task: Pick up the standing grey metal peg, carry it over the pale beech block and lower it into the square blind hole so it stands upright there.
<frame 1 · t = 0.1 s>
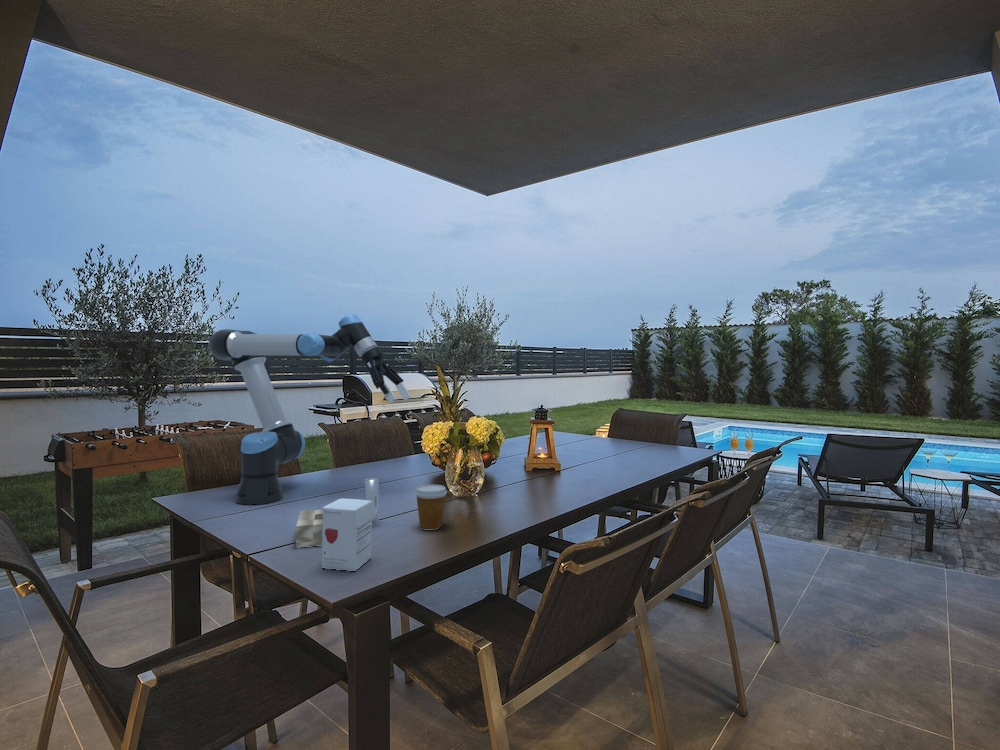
hand: (400, 399, 183), 36 cm above the table, tool tilted 35°, fingers open, 13 cm apart
disposable coffee cup: (430, 528, 152), on the table
supplement box: (347, 564, 125), on the table
bore block: (325, 537, 143), on the table
peg: (371, 524, 154), on the table
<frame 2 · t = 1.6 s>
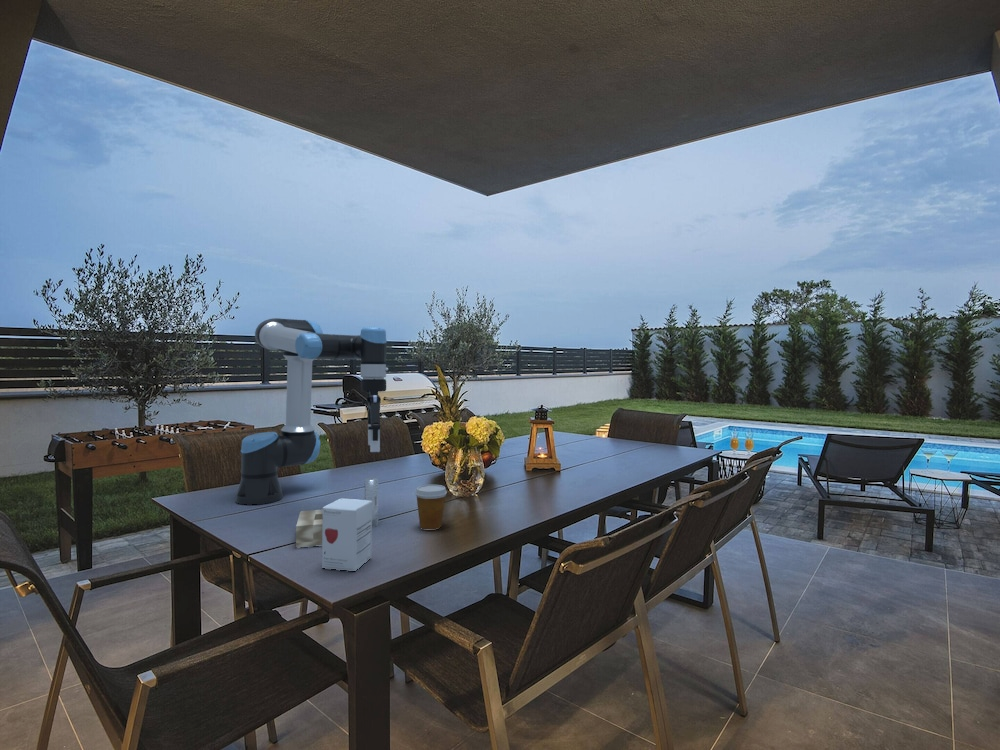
hand: (373, 448, 155), 23 cm above the table, tool pointing down, fingers open, 13 cm apart
nothing on the table moved.
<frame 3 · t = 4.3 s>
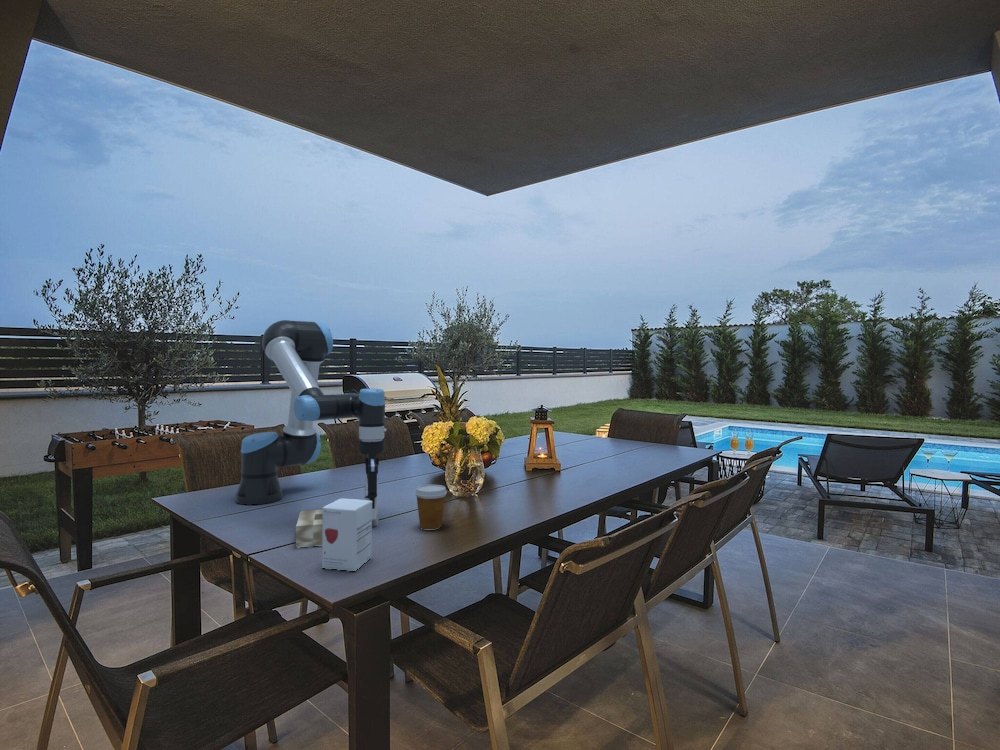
hand: (371, 516, 154), 3 cm above the table, tool pointing down, fingers closed on peg, 4 cm apart
peg: (371, 524, 154), on the table, touching gripper
everything else where it was.
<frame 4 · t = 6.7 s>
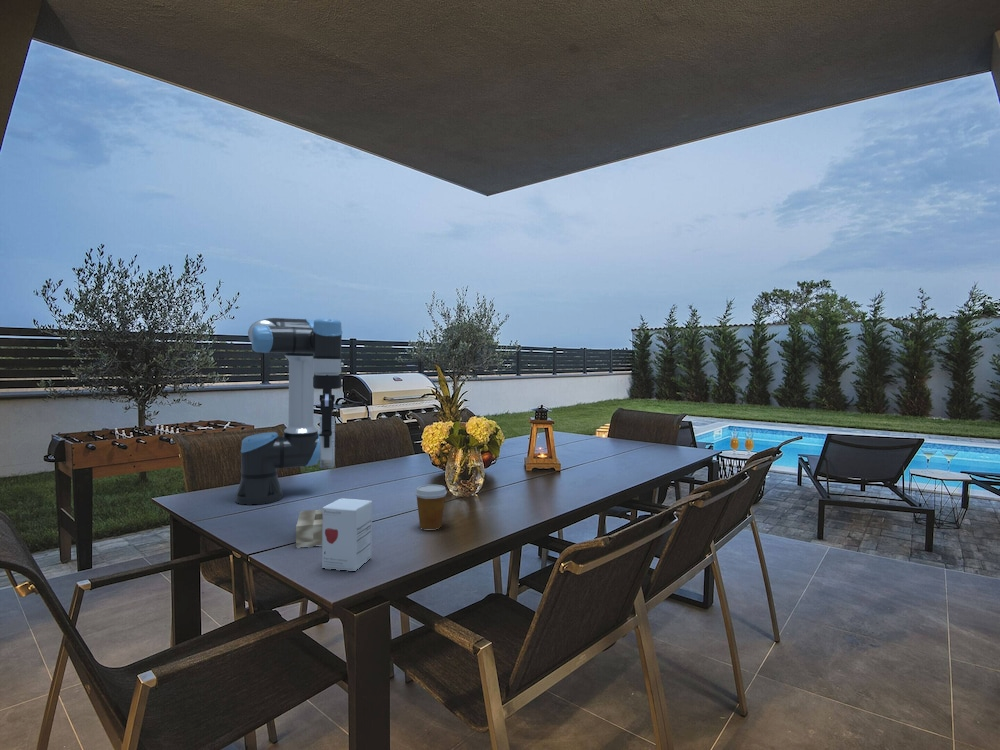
hand: (326, 457, 143), 23 cm above the table, tool pointing down, fingers closed on peg, 4 cm apart
peg: (327, 466, 143), point 20 cm above the table, touching gripper
everything else where it was.
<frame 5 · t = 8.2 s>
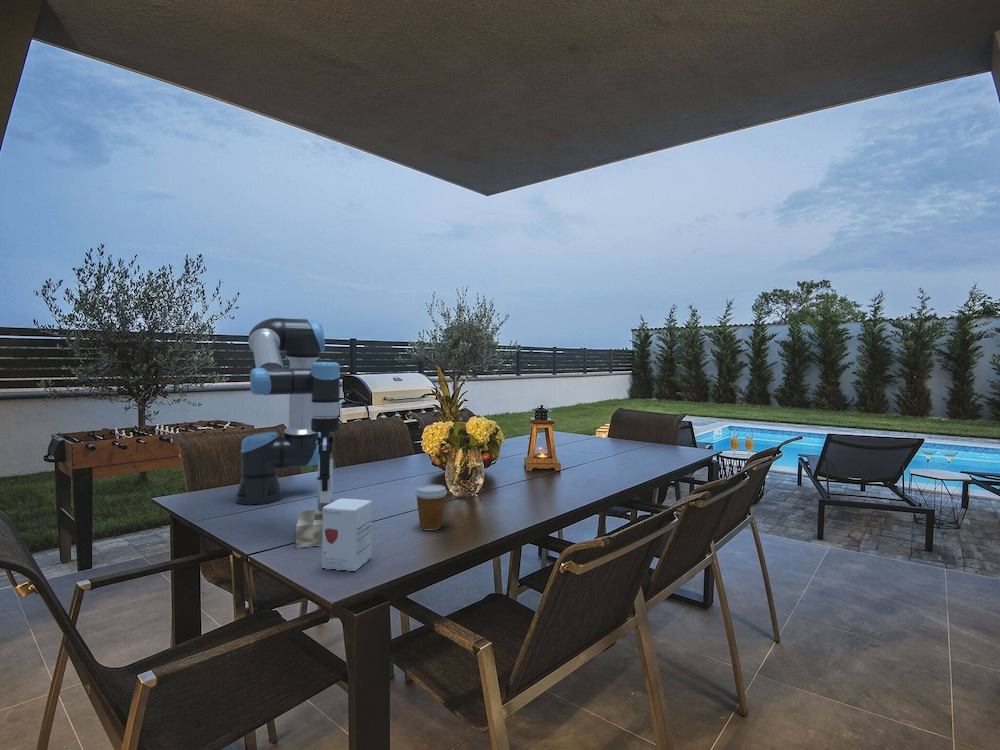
hand: (325, 499, 143), 11 cm above the table, tool pointing down, fingers closed on peg, 4 cm apart
peg: (325, 509, 143), point 8 cm above the table, touching gripper
everything else where it was.
when the fingers open (7 cm above the table, at t = 9.2 s): peg drops 2 cm, resting on bore block.
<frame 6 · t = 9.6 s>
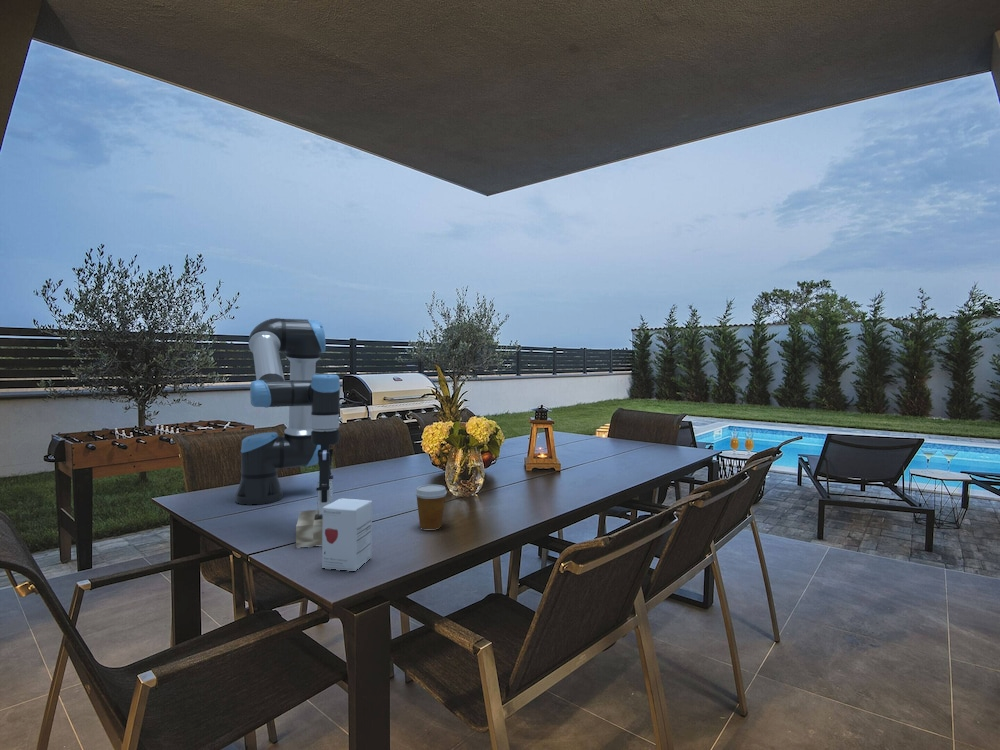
hand: (325, 507, 143), 8 cm above the table, tool pointing down, fingers open, 10 cm apart
peg: (325, 531, 143), point 2 cm above the table, touching bore block
everything else where it was.
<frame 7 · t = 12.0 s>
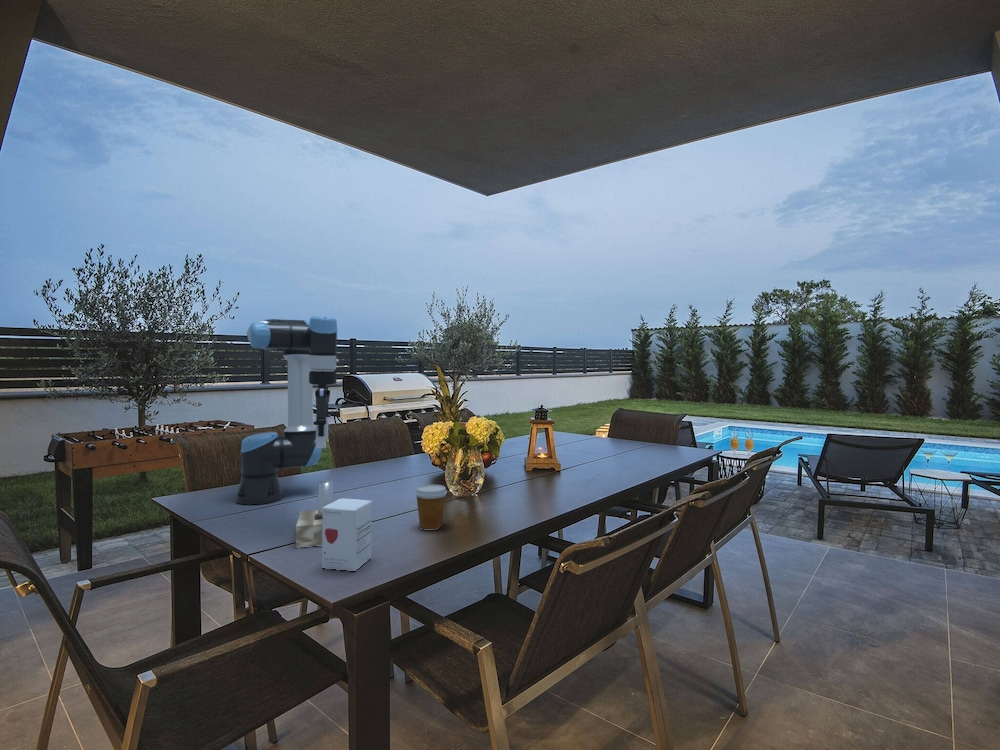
hand: (322, 443, 147), 26 cm above the table, tool pointing down, fingers open, 13 cm apart
nothing on the table moved.
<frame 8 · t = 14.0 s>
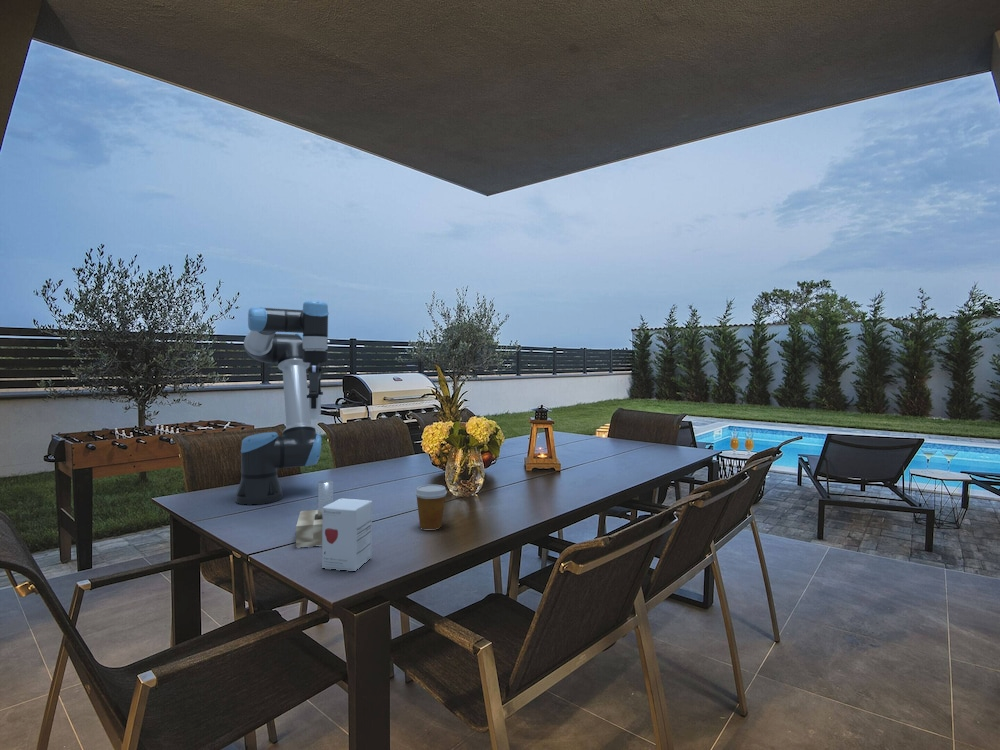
hand: (315, 417, 162), 32 cm above the table, tool pointing down, fingers open, 13 cm apart
nothing on the table moved.
at the end: peg 0.1 cm off-centre on the bore block, point 1.6 cm above the bore block's base; peg tilted 1°; the gripper is holding nothing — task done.
